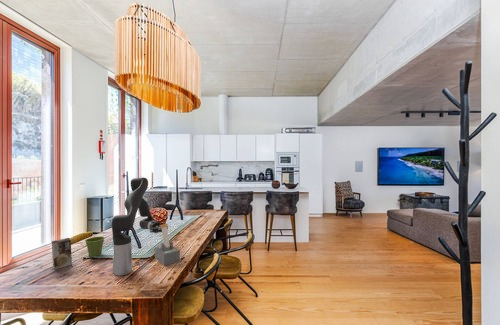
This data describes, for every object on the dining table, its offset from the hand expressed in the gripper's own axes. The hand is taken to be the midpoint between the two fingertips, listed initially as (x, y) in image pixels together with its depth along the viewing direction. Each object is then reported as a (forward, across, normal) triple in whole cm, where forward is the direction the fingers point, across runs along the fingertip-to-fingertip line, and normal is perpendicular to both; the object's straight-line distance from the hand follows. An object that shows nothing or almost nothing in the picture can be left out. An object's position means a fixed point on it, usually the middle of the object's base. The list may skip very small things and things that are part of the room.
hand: (164, 231), depth 166 cm
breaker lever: (+4, 0, +10) cm, 11 cm away
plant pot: (-39, -34, +17) cm, 54 cm away
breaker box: (+4, 0, +18) cm, 18 cm away
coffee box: (-33, -52, +17) cm, 64 cm away
